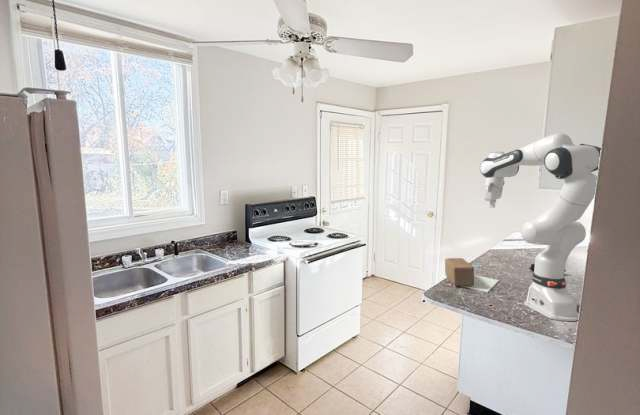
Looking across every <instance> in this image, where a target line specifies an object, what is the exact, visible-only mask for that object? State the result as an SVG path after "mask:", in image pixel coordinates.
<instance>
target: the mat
mask: <svg viewBox="0 0 640 415" xmlns="http://www.w3.org/2000/svg"><path fill="white" fill-rule="evenodd" d="M499 281H500V280H499V279H496V278H491V277H487V276H486V277H485V276H481V275H476V274H474V285H473V286H461V287H463V288H467V289H471V290H475V291H480V292H482V293H483V292H484V293H489V291H491V290H492V289H493V287H495V286H496V284H497V283H498V282H499Z"/></svg>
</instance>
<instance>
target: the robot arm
mask: <svg viewBox="0 0 640 415" xmlns="http://www.w3.org/2000/svg"><path fill="white" fill-rule="evenodd" d="M600 150H601V147H600V146H596V145H591V144H585V143H580V144H578V145H577V144H575V143H573V140H572V138H571V136H569V135H568V134H566V133H561V132H560V133H554V134H550V135H547V136H545V137H542V138H540V139H538V140H536V141H534V142H531V143H529V144H527V145H524V146H522V147H520V148H517V149H514V150H512V151H510V152H507V153H505V152H503V151H494V152H493V151H492V152H490V153H489V154H488V156H487V157H486V158H485V159H483V160H482V162H481V163H480V166H479V171H480V173H481V175H482V176H483V177H485V179H484V180H485V181H484V185H485V186H486V187H485V192H484V200H485V201H489V208H490V209H494V208H496V203H497V200H499V199H501V198H502V195H503V189H504V186H505V178H511V177H515V176H516V175H517V174H518V173H519V171H520V166H526V167H527V166H529V167H531V166H532V167H534V166H535V167H537V166H543V165H544V167H545V169H546V170H547V171H548V172H549V173H550V174H552V175H553V176H554V177H555V178H556V179H559V180H564V182H563V185H562V187H561V188H560V190H559V191H558V193H557V195H556V197H555V198H554V200H553V202H552V203H551V205H550V206H549V207H548V208H547V209H546V210H544V211H543V212H542V213H540V215H537V217H535V218H533V219H531V220H528V221H526V222H525V223H523V225H522V228H521V231H520V234H521V237H522V239H523V240H524V241H525V242H526V243H528V244H532V245H538V246H546V247H545V249H543V250H542V251H541V252H539V253H538V254H536V256H535V259H534V264H535V267H534V271H532V275H531V276H532V277H531V280H532V282H531V284H530V286H529V287H528V292H527V297H526V300H525V301H524V302H523V305H524V306H526V307H528V308H529V309H531V310H534V311H535V312H537V313H539V314H541V315H543V316H544V317H546V318H548V319H550V320H554V321H559V322H562V321H563V322H577V320H578V314H580V313H579V312H578V311H577V309H578V305H577V300H576V298H574V297H573V296H572V295H571V293H570V291H569V290H568V289H567V286H568V283H569V282H566V278H565V276H564V274H565V270H566V266H567V265H566V264H567V261H568V259H569V258H568V257H569V256H570V254H571V252H572V251H573V250H574V249H575V248H576V246H577V245H579V244H581V243H582V242H584V240H585V239H586V236H587V231H586V228H585V226H584V225H583V224H582V223H581V222H579V220H580V219H581V218H582V216H583V215H584V214H585V212H586V210H588V207H589V206H590V205H591V203H592V201H593V200H594V198H595V196H596V194H595V187H596V180H597V177H598V175H595V173H594V172H595V171H598V170H599V169H598V164H599V157H600ZM592 172H593V173H592ZM594 195H595V196H594Z"/></svg>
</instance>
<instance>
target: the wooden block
mask: <svg viewBox="0 0 640 415" xmlns="http://www.w3.org/2000/svg"><path fill="white" fill-rule="evenodd" d="M444 272H445V276H446V277H447V278H448V280H449V281H450V282H451V283H452V284H453V285H454V287H455V286H456V287H462V286H473V285H474V275H475V268H474V266H472V264H470V263H469V262H468V261H466V259H464V258H463V257H450V258H444Z"/></svg>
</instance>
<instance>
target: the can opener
mask: <svg viewBox="0 0 640 415" xmlns="http://www.w3.org/2000/svg"><path fill="white" fill-rule="evenodd" d="M534 267H535V263H531V264H530V267H529V270H531V271H532V272H534ZM565 272H567V269H565ZM565 272H564V277H565V276H566V273H565Z"/></svg>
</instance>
